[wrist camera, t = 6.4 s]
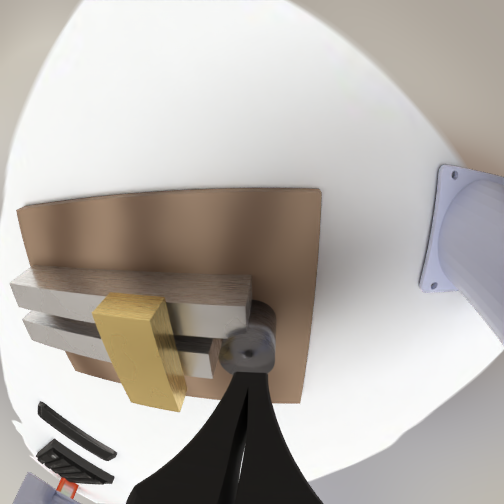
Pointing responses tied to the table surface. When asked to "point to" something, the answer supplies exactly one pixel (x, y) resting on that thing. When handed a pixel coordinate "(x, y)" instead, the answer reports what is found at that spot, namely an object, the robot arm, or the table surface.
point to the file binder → (67, 488)
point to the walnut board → (197, 257)
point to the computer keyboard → (71, 465)
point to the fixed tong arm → (177, 300)
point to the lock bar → (142, 349)
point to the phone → (75, 433)
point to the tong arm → (91, 345)
